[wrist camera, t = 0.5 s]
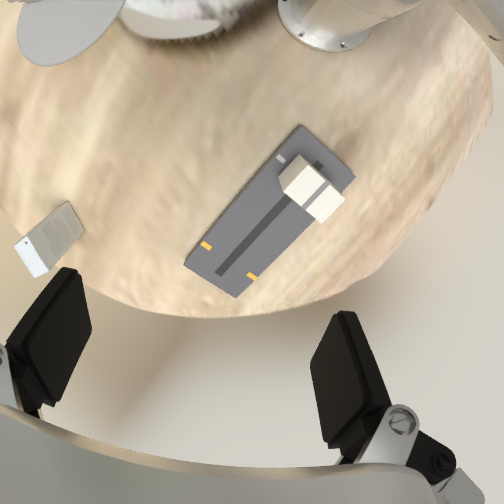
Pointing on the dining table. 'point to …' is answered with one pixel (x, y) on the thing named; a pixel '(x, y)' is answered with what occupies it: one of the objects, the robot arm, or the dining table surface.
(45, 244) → the skincare box
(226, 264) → the slider panel
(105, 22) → the ornament
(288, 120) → the dining table surface
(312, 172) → the fader tab
